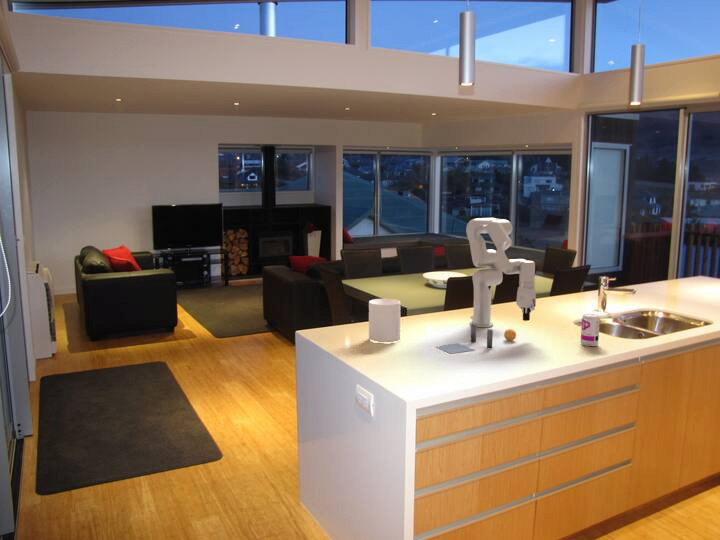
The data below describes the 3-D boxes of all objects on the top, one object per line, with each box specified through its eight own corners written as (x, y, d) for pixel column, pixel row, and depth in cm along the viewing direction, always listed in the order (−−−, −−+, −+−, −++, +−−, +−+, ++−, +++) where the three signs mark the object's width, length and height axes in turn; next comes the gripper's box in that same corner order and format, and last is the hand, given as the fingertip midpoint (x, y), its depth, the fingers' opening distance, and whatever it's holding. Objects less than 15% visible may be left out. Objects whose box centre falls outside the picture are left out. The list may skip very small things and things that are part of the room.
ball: (501, 339, 322) (501, 328, 321) (510, 338, 325) (511, 327, 324) (509, 342, 317) (509, 331, 316) (518, 341, 319) (518, 329, 319)
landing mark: (434, 346, 309) (434, 346, 309) (458, 343, 315) (458, 343, 315) (450, 353, 297) (450, 353, 297) (474, 350, 303) (474, 349, 303)
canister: (373, 345, 312) (374, 305, 309) (365, 337, 327) (365, 299, 324) (404, 343, 316) (404, 303, 313) (394, 335, 331) (394, 298, 328)
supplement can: (587, 347, 308) (588, 317, 305) (577, 343, 315) (578, 314, 313) (601, 346, 310) (603, 316, 308) (591, 342, 318) (592, 313, 315)
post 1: (469, 341, 319) (470, 324, 318) (473, 340, 320) (474, 323, 319) (472, 342, 317) (473, 325, 316) (476, 341, 318) (477, 324, 317)
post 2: (485, 347, 308) (486, 329, 306) (489, 346, 309) (490, 329, 307) (488, 348, 305) (489, 330, 304) (493, 348, 306) (493, 330, 305)
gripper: (511, 283, 326) (510, 318, 328) (531, 287, 312) (530, 323, 315) (522, 282, 329) (522, 317, 331) (542, 286, 316) (542, 322, 318)
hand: (526, 320), depth 323 cm, fingers closed
